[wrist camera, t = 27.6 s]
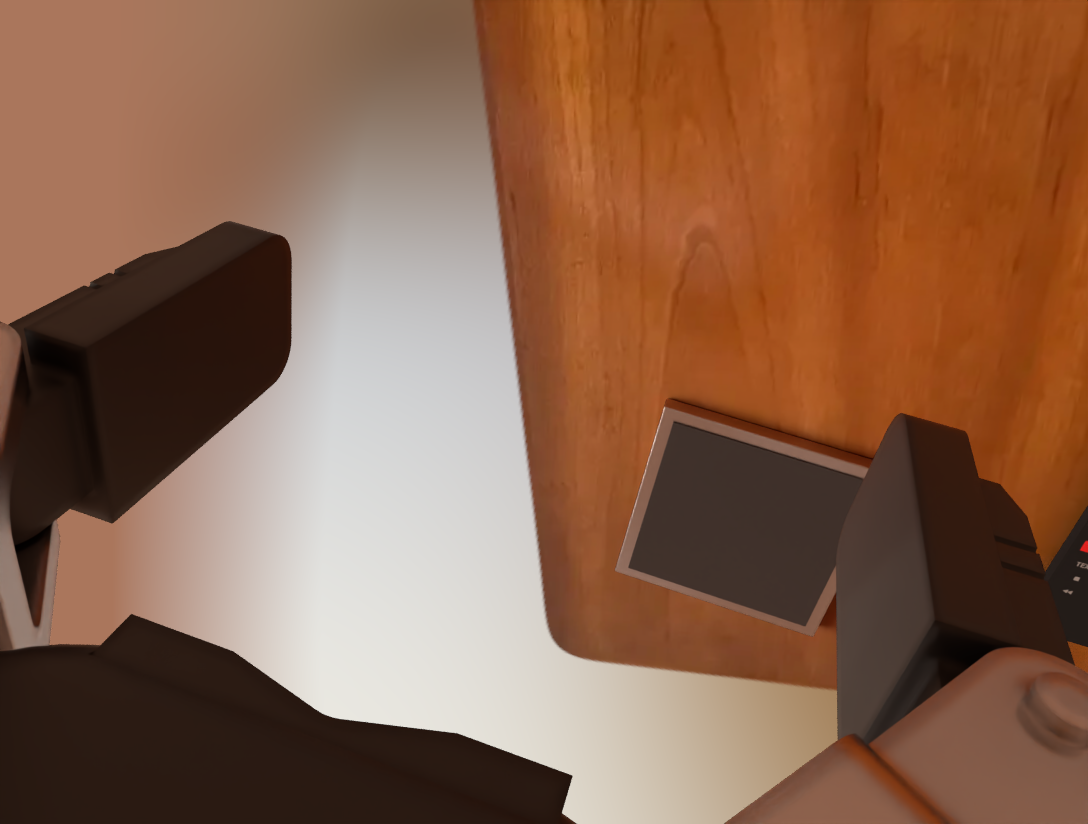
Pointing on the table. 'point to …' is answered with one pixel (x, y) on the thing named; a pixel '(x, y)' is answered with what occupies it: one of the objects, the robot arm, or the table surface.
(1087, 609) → the remote control
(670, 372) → the table surface
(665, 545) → the tablet
